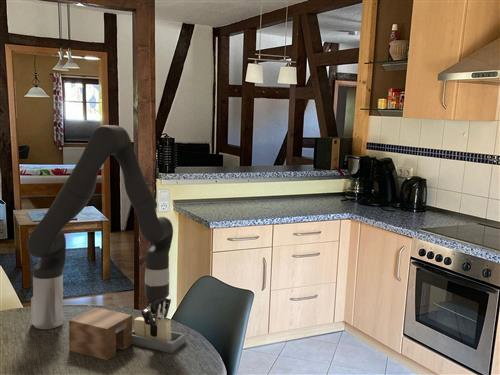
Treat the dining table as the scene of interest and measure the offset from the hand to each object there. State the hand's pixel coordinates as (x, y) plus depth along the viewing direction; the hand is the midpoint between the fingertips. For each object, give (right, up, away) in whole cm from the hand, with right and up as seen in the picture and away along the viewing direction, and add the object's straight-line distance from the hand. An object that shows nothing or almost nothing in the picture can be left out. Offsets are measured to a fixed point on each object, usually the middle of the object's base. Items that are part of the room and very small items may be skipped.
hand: (156, 334), depth 155 cm
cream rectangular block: (-1, -2, +1) cm, 2 cm away
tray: (0, -3, 0) cm, 3 cm away
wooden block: (-16, -3, -4) cm, 17 cm away
